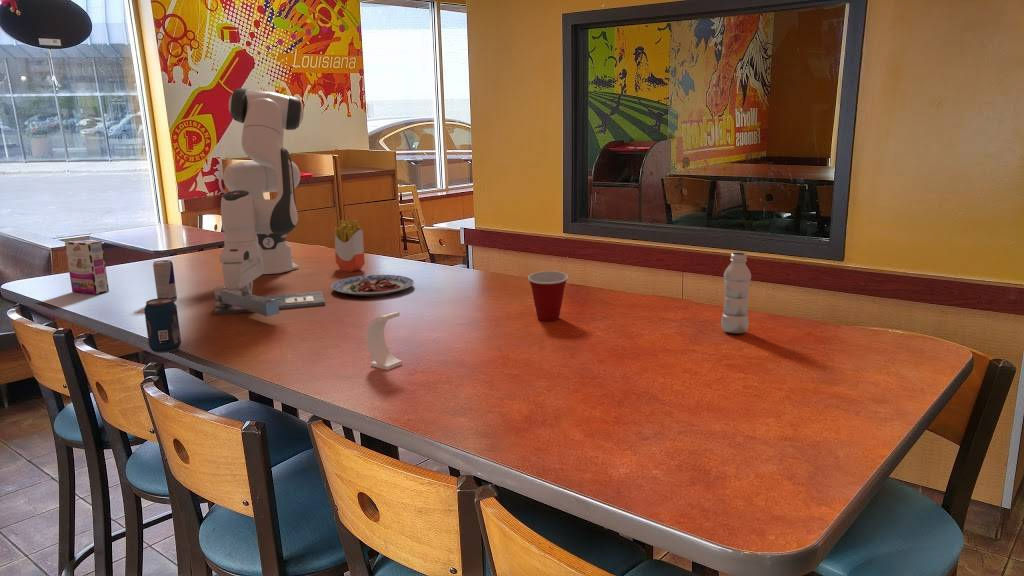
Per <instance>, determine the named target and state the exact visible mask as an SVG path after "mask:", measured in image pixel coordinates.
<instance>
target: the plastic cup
mask: <svg viewBox="0 0 1024 576" xmlns="http://www.w3.org/2000/svg"><path fill="white" fill-rule="evenodd" d="M568 278H569V274H567V273H565V272H562V271H556V270H545V271H544V270H543V271H537V272H533V273H530V274H529V275H528V277H527V279H528V281H529V284H530V287H531V290H532V296H533V302H534V307H535V314H536V316H537V319H538V320H539V321H543V322H554V321H557V320H559V319H560V315H561V309H562V303H563V298H564V292H565V288H566V284H567V280H568Z"/></svg>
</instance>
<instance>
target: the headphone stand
mask: <svg viewBox="0 0 1024 576" xmlns="http://www.w3.org/2000/svg"><path fill="white" fill-rule="evenodd" d="M398 317H400V311H393V312H391V313H387V314H383V315H381V316H377V317H375V318H373V319H371V321H370V323H369V324H368V327H367V328H366V335H365V336H366V338H365V340H366V345H367V349H368V352H369V354H370V356H371V358H372V359H373V361H371V362H370V367H374V368H378V369H382V370H386V371H389V370H391V369H394V368H396V367H399V366H401V365H402V364H403V360H401V359H398V357H395V355H394V354H392V352H391V351H390V350H389V347H388V346H387V343H386V340H385V328H386V324H387V322H388V320H392V319H395V318H398Z"/></svg>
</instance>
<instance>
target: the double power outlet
mask: <svg viewBox="0 0 1024 576" xmlns="http://www.w3.org/2000/svg"><path fill="white" fill-rule="evenodd" d="M259 296H260V297H264V298H267V299H271V300H276V301H278V306H279V310H285V309H287V310H288V309H295V308H298V309H299V308H308V307H319V306H325V305H326V302H325V301H326V300H325V298H324V294H323V291H322V290H320V291H309V292H306V291H305V292H297V293H285V294H284V293H283V294H272V295H270V294H269V295H259ZM214 307H215V309H214V315H227V314H228V315H230V314H241V313H251V312H252V311H249V310H246V309H243V308H240V307H237V306H233V305H230V304H227V303H224V302H217V301H216V302H215V303H214ZM252 313H253V312H252Z"/></svg>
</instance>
